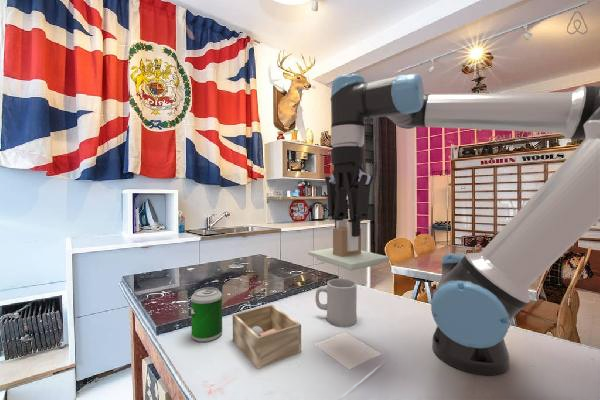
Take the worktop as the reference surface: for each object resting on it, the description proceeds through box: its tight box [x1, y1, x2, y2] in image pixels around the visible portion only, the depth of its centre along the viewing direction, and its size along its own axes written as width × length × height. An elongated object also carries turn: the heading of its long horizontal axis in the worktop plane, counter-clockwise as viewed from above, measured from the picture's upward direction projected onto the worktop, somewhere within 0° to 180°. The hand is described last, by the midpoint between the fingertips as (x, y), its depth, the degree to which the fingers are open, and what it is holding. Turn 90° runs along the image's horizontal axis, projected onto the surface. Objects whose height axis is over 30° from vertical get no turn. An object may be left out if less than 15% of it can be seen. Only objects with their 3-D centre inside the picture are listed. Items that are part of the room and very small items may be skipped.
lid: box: [307, 227, 390, 272], centre depth 67 cm, size 15×12×8 cm
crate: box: [232, 304, 302, 369], centre depth 70 cm, size 14×11×7 cm
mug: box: [315, 278, 358, 328], centre depth 85 cm, size 12×8×11 cm
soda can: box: [190, 287, 223, 343], centre depth 74 cm, size 8×8×12 cm
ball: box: [252, 326, 264, 336], centre depth 71 cm, size 4×4×4 cm
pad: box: [314, 332, 381, 370], centre depth 68 cm, size 12×10×1 cm
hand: (347, 248), depth 67 cm, fingers closed on lid, 3 cm apart
